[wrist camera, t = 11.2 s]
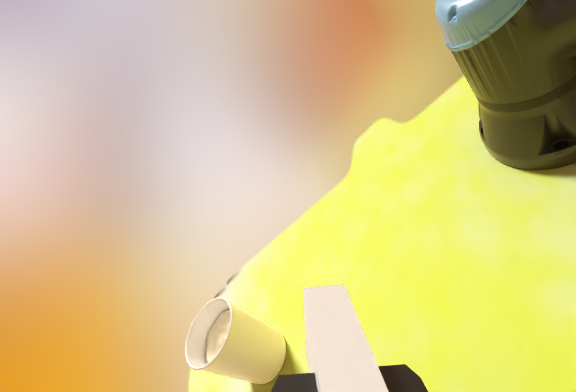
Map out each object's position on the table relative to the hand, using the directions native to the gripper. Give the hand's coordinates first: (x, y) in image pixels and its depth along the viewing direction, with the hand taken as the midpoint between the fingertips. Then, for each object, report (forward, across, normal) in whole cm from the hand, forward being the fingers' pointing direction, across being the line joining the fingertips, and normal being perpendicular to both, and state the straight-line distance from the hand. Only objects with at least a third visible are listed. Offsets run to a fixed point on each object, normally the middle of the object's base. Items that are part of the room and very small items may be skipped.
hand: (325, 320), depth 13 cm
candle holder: (+36, -5, -30) cm, 47 cm away
